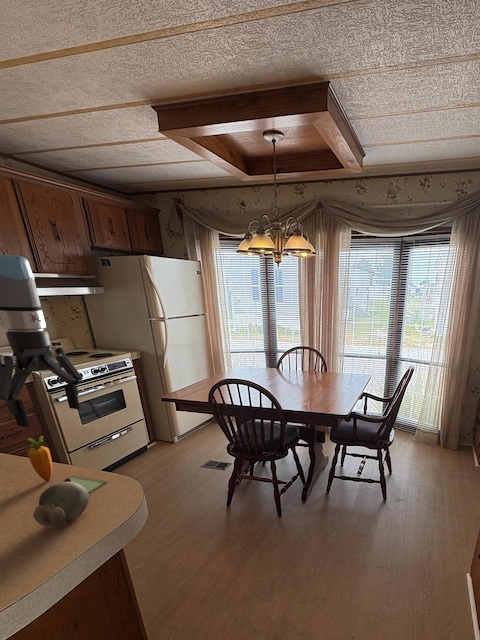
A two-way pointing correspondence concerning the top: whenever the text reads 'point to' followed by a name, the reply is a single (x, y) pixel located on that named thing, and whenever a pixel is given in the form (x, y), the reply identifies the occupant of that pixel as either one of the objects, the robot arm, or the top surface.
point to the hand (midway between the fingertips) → (51, 416)
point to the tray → (87, 483)
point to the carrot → (40, 459)
